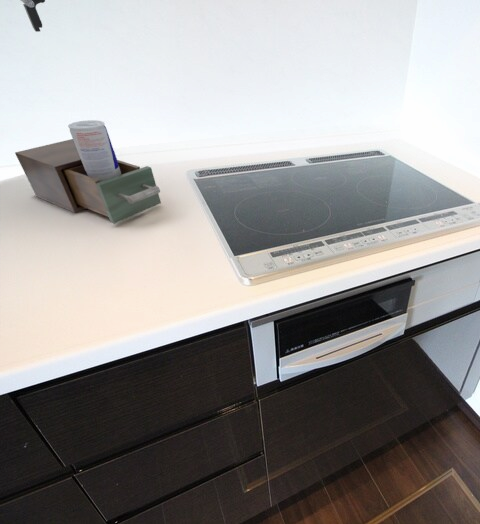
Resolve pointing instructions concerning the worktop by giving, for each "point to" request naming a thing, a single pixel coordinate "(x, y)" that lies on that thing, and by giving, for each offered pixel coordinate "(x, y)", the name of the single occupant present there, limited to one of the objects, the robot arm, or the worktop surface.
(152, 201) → the drawer
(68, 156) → the cabinet
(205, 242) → the worktop surface
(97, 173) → the beverage can
